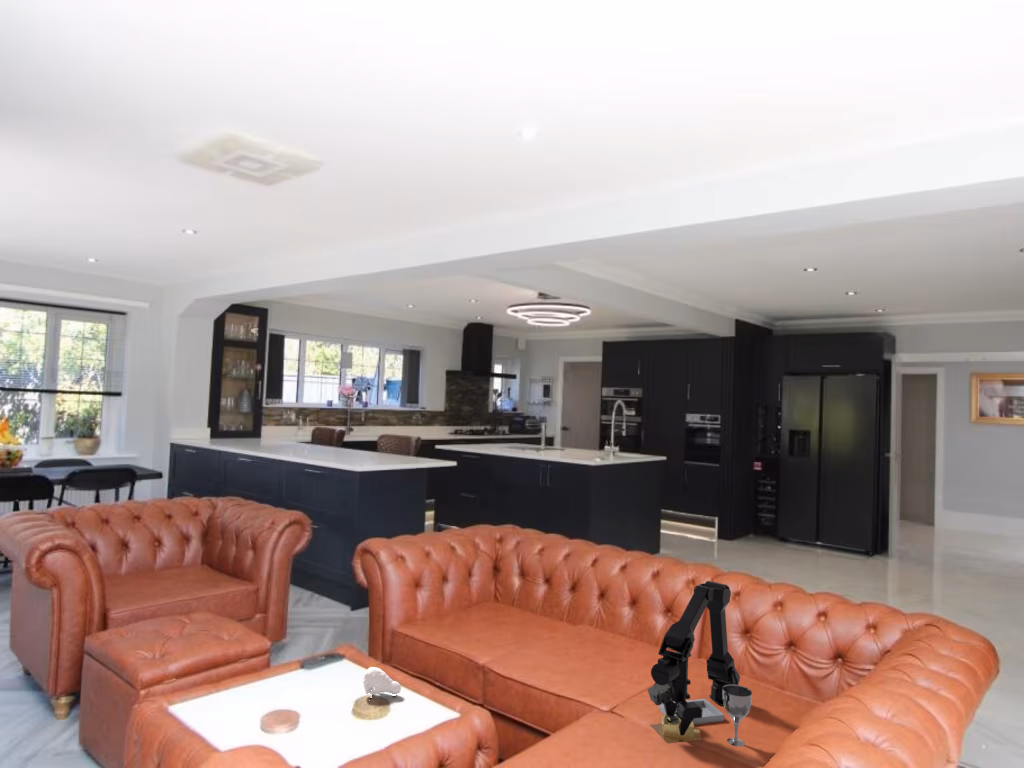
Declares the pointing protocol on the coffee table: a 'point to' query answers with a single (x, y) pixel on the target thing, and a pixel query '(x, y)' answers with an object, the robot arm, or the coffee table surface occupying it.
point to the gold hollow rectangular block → (677, 729)
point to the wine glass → (736, 707)
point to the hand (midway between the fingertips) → (676, 729)
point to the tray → (703, 712)
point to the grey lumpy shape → (379, 682)
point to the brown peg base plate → (672, 739)
